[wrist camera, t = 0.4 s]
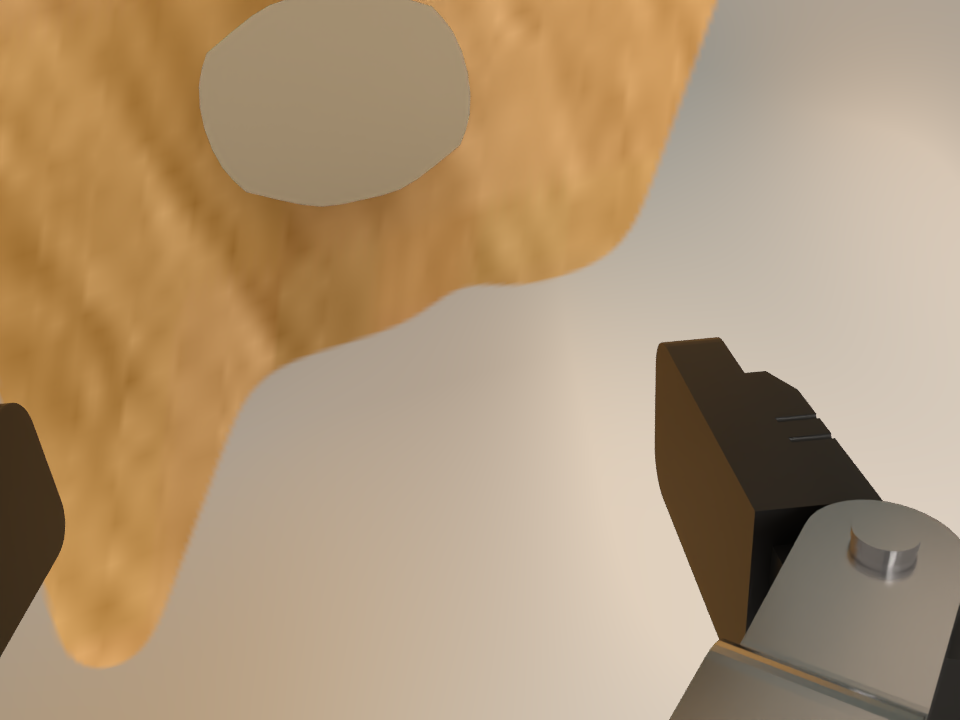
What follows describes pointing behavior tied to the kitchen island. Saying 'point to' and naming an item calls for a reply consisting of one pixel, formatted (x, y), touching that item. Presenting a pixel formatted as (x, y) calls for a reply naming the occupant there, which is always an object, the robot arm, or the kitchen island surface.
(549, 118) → the kitchen island surface
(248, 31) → the handle
